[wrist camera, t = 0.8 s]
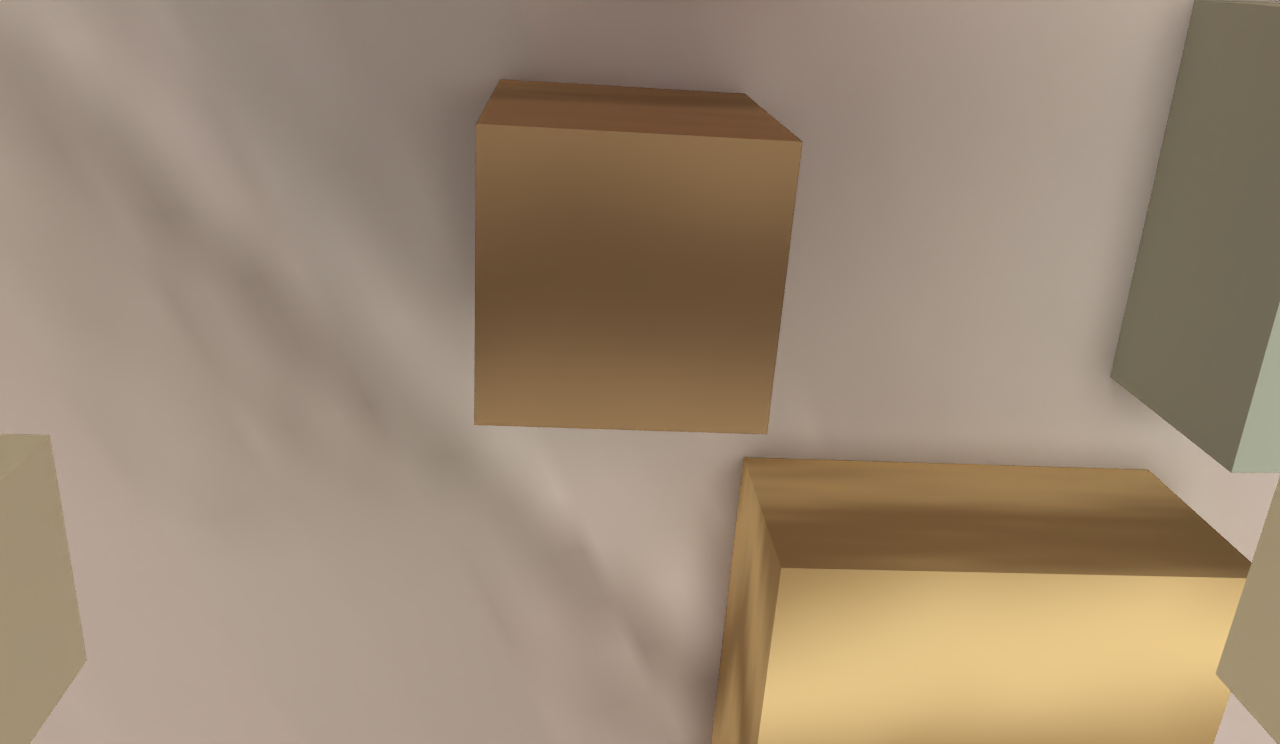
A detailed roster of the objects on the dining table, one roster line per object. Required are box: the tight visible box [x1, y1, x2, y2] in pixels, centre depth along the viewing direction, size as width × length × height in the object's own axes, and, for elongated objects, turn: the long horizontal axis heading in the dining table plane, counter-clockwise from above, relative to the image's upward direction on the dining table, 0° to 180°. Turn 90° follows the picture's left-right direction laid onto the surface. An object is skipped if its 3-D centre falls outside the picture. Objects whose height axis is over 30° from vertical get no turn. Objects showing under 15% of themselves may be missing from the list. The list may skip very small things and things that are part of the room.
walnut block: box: [474, 79, 802, 434], centre depth 23 cm, size 6×6×7 cm
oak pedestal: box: [711, 457, 1252, 744], centre depth 30 cm, size 12×12×6 cm
